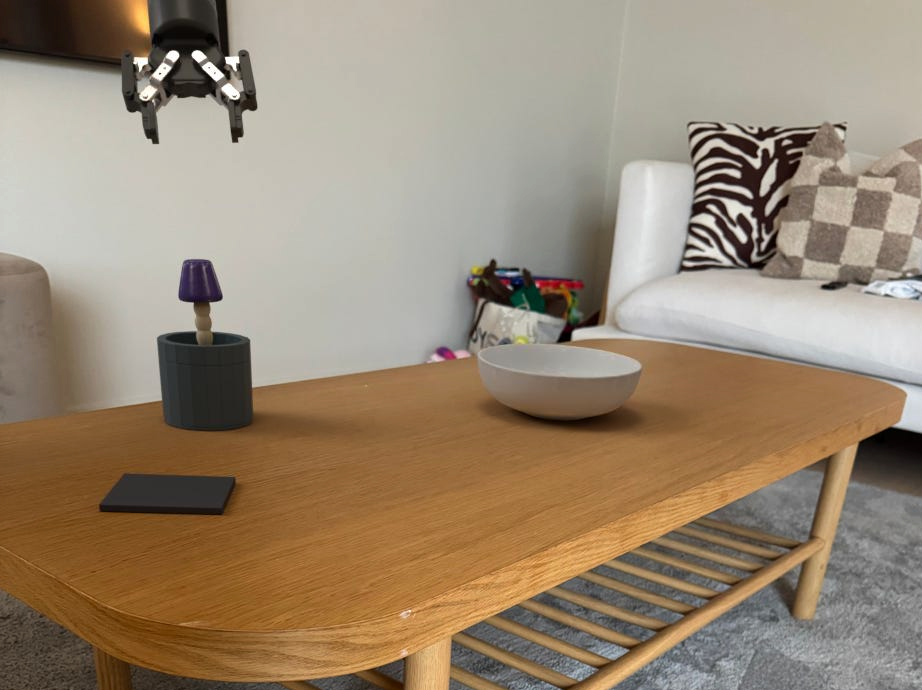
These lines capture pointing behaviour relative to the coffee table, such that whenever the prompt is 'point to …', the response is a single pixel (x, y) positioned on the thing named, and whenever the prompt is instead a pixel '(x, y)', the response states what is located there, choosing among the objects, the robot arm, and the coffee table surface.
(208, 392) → the jar
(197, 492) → the mat
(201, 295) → the toy lamp
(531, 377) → the serving bowl
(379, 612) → the coffee table surface
